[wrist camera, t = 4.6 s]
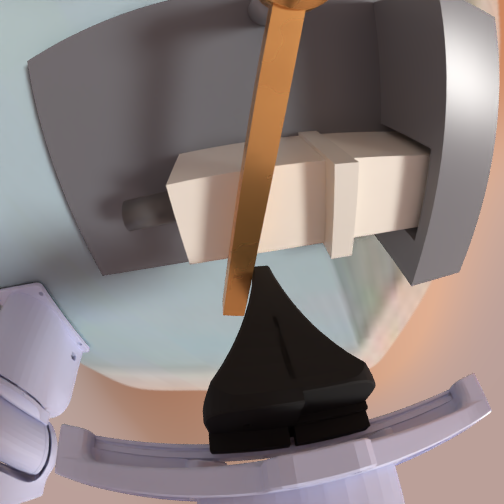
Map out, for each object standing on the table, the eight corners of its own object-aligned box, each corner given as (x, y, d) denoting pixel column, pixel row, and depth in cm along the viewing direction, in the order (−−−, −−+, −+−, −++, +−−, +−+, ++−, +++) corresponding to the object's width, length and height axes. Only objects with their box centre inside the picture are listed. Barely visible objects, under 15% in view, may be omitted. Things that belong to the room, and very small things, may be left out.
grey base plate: (421, 217, 19) (468, 268, 14) (105, 268, 18) (80, 337, 13) (430, 14, 9) (503, 15, 4) (34, 60, 9) (-38, 73, 4)
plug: (409, 191, 16) (455, 234, 12) (148, 230, 16) (129, 291, 12) (416, 129, 14) (473, 159, 10) (126, 163, 14) (90, 208, 9)
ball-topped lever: (256, 302, 14) (258, 319, 13) (208, 300, 14) (208, 317, 13) (326, -29, 5) (338, -38, 5) (258, -45, 5) (262, -57, 4)
